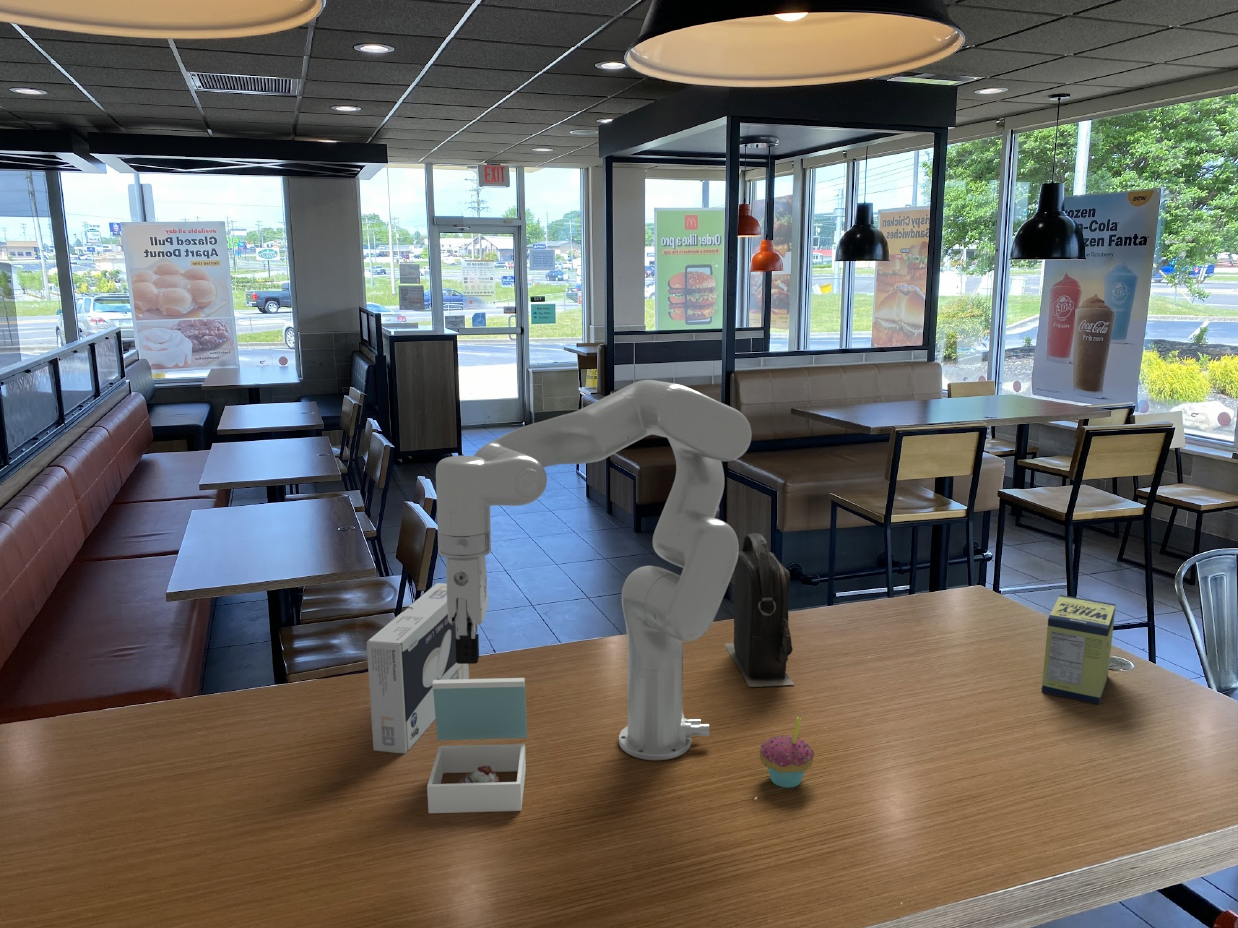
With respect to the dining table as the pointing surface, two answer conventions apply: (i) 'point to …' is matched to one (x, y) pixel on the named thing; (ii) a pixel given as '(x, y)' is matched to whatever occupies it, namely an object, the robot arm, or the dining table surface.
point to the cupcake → (786, 758)
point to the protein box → (1078, 649)
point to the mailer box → (477, 794)
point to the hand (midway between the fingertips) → (467, 661)
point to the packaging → (410, 670)
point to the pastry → (481, 776)
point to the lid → (480, 708)
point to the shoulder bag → (761, 615)
